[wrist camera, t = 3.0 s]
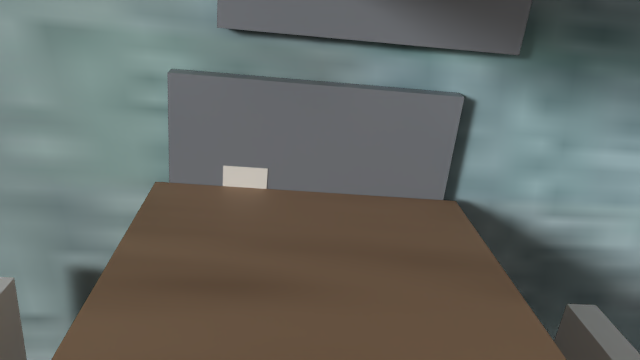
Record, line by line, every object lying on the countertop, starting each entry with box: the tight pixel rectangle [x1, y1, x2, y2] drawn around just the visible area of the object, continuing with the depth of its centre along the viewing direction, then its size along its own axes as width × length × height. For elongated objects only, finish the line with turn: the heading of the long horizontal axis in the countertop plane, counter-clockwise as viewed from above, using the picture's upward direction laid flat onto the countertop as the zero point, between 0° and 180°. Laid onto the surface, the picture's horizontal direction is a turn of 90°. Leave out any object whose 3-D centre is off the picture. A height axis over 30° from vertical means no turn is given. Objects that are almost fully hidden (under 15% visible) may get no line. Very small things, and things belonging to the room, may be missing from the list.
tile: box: [168, 69, 464, 200], centre depth 14 cm, size 12×6×1 cm, turn 175°
